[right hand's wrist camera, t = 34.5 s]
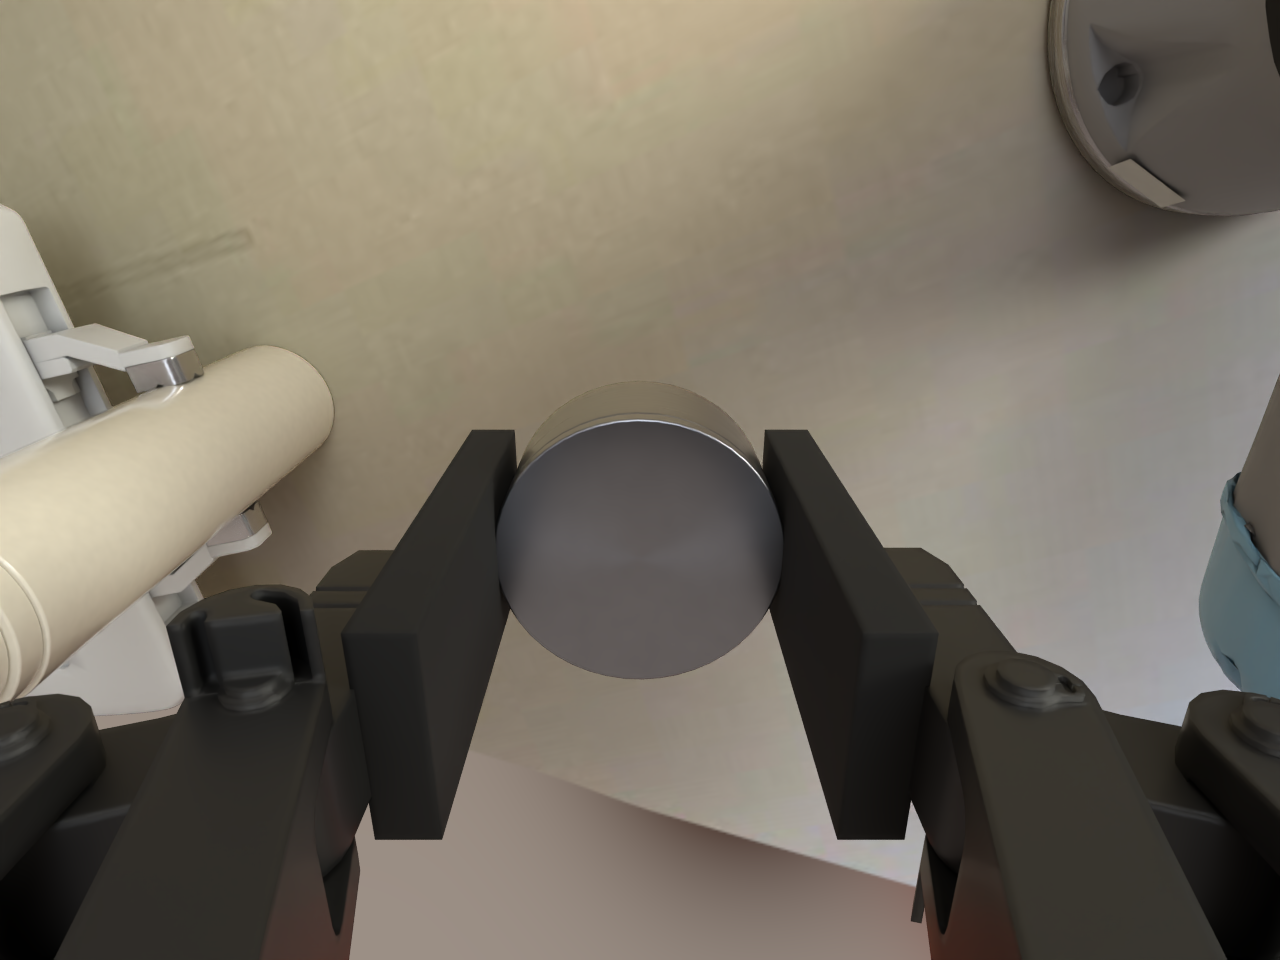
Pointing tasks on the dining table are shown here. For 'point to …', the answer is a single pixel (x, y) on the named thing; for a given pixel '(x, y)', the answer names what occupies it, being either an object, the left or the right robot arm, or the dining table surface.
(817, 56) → the dining table surface
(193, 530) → the bottle
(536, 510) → the cap
